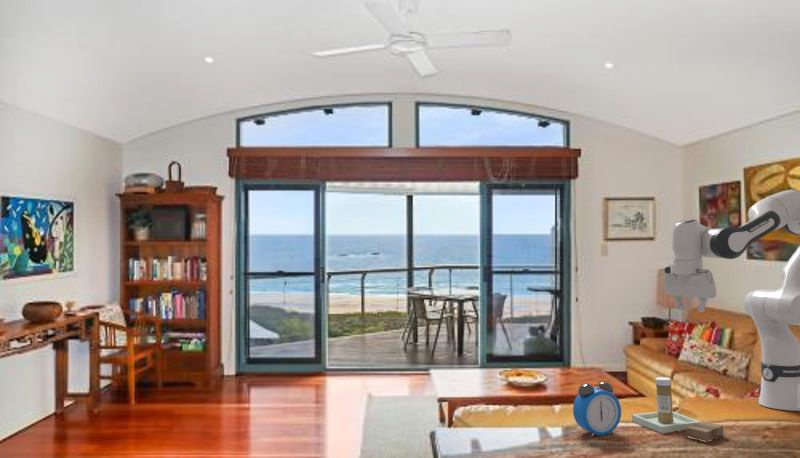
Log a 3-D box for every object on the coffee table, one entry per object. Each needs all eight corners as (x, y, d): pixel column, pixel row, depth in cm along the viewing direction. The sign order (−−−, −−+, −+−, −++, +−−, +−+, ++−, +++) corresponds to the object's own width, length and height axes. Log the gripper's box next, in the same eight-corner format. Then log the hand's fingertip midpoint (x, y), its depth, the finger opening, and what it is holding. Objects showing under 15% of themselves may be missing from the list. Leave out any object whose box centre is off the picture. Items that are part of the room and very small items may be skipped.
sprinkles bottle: (676, 421, 188) (673, 377, 189) (669, 424, 185) (667, 380, 186) (661, 418, 192) (659, 376, 192) (654, 422, 188) (652, 378, 189)
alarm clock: (584, 439, 177) (582, 387, 177) (572, 433, 183) (570, 382, 183) (623, 433, 181) (620, 382, 181) (610, 428, 187) (608, 378, 187)
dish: (669, 416, 197) (669, 410, 197) (701, 428, 183) (701, 421, 183) (632, 421, 193) (631, 414, 193) (661, 433, 180) (661, 426, 180)
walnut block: (703, 431, 180) (702, 421, 180) (723, 436, 175) (722, 425, 175) (686, 437, 175) (685, 427, 175) (707, 442, 170) (706, 432, 170)
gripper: (719, 268, 193) (722, 312, 192) (674, 267, 212) (677, 307, 212) (703, 270, 191) (706, 314, 191) (659, 268, 211) (661, 308, 210)
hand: (690, 310), depth 201 cm, fingers open, 8 cm apart
